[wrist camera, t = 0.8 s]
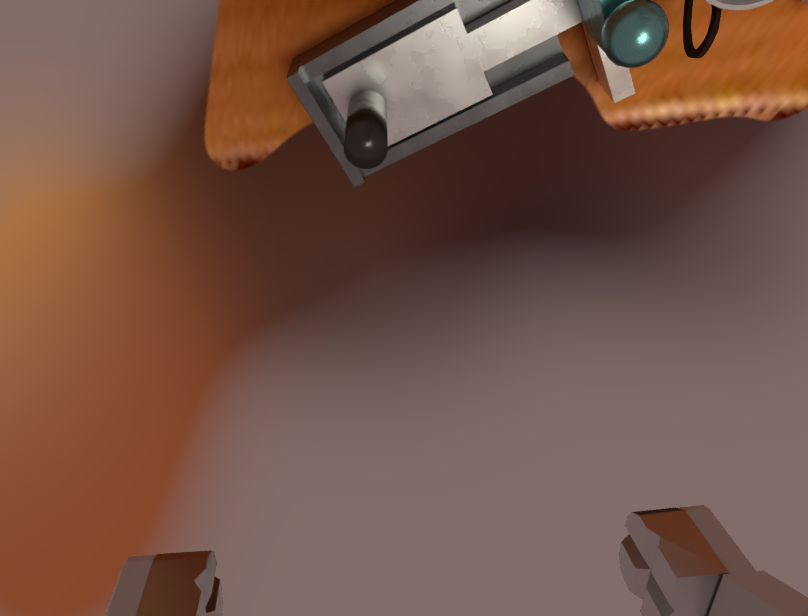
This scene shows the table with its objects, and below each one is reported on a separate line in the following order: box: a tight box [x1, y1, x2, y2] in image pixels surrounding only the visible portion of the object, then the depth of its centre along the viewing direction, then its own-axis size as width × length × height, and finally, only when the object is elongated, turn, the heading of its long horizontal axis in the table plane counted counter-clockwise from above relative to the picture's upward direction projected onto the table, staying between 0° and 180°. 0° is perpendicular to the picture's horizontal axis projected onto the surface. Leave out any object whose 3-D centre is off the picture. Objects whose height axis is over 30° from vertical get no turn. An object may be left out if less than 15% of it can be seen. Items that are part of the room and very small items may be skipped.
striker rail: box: [286, 0, 574, 187], centre depth 47 cm, size 19×10×4 cm, turn 117°
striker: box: [322, 0, 669, 169], centre depth 41 cm, size 21×16×15 cm
